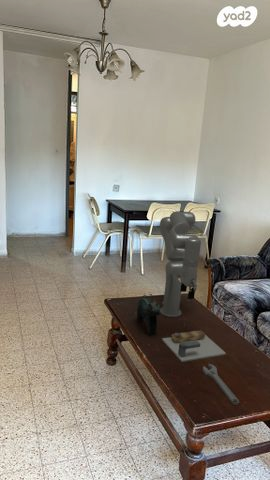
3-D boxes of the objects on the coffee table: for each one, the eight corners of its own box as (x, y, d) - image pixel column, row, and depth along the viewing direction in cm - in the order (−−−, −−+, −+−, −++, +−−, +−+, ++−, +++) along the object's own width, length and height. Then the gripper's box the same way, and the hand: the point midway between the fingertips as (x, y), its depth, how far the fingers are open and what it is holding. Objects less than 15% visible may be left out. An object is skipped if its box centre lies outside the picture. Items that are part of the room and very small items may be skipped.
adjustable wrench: (240, 406, 139) (240, 402, 138) (224, 407, 137) (225, 403, 137) (213, 367, 162) (213, 363, 162) (199, 367, 161) (200, 364, 160)
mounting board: (162, 339, 181) (163, 328, 179) (202, 334, 190) (204, 323, 189) (181, 362, 163) (183, 349, 162) (225, 354, 172) (227, 342, 171)
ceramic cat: (158, 336, 184) (162, 300, 179) (147, 337, 182) (150, 301, 177) (143, 318, 202) (146, 285, 197) (133, 319, 200) (135, 286, 195)
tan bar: (174, 343, 177) (175, 336, 176) (170, 338, 181) (171, 332, 180) (204, 338, 183) (205, 332, 182) (200, 334, 187) (200, 328, 186)
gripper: (177, 257, 186) (173, 289, 190) (190, 267, 170) (186, 302, 174) (190, 257, 188) (187, 288, 192) (205, 267, 172) (201, 301, 176)
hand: (186, 295), depth 183 cm, fingers open, 9 cm apart
